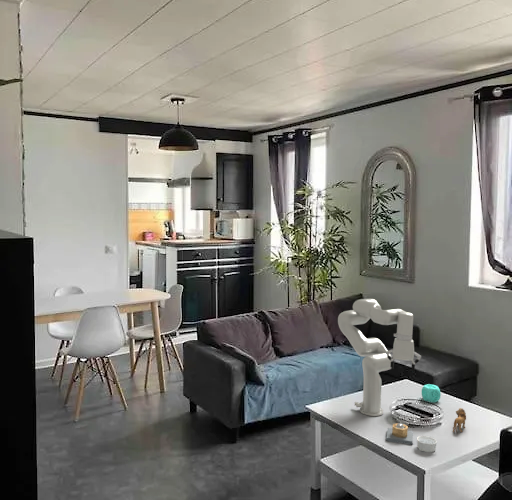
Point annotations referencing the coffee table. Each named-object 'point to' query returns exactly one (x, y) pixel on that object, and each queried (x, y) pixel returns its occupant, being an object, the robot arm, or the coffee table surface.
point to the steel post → (399, 426)
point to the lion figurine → (459, 420)
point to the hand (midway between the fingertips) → (402, 370)
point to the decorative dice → (431, 393)
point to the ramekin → (426, 443)
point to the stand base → (397, 439)
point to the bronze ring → (400, 431)
